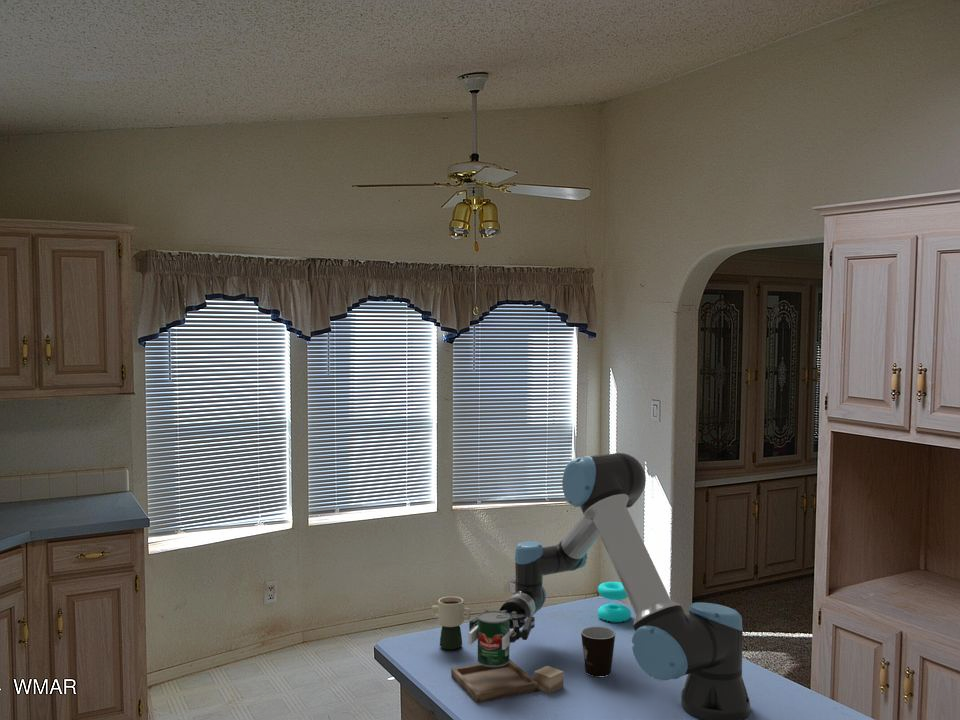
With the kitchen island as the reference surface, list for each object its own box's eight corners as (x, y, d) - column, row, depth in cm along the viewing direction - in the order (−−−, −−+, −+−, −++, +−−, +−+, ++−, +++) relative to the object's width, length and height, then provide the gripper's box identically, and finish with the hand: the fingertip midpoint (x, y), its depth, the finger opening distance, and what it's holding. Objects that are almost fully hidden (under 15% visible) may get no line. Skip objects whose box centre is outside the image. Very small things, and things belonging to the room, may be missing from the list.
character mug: (473, 644, 221) (473, 597, 221) (467, 653, 214) (467, 605, 214) (435, 641, 224) (435, 594, 223) (428, 650, 217) (428, 603, 216)
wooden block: (563, 687, 194) (563, 671, 194) (550, 694, 190) (550, 677, 190) (547, 681, 197) (547, 665, 197) (534, 687, 194) (534, 671, 194)
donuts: (591, 585, 242) (610, 578, 249) (591, 618, 242) (609, 610, 250) (619, 592, 235) (637, 585, 242) (618, 626, 235) (637, 617, 243)
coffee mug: (614, 680, 198) (614, 640, 197) (579, 677, 199) (579, 637, 199) (616, 662, 209) (616, 624, 209) (583, 659, 211) (583, 621, 210)
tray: (538, 690, 192) (538, 682, 191) (476, 702, 185) (476, 694, 185) (509, 666, 206) (509, 658, 206) (451, 676, 200) (451, 668, 200)
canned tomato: (480, 668, 191) (480, 622, 191) (475, 655, 199) (475, 611, 199) (512, 666, 192) (512, 620, 192) (506, 653, 200) (506, 609, 200)
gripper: (481, 592, 216) (446, 619, 195) (555, 601, 208) (527, 631, 187) (480, 619, 216) (446, 650, 195) (554, 630, 208) (527, 663, 187)
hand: (486, 641), depth 191 cm, fingers closed on canned tomato, 8 cm apart
